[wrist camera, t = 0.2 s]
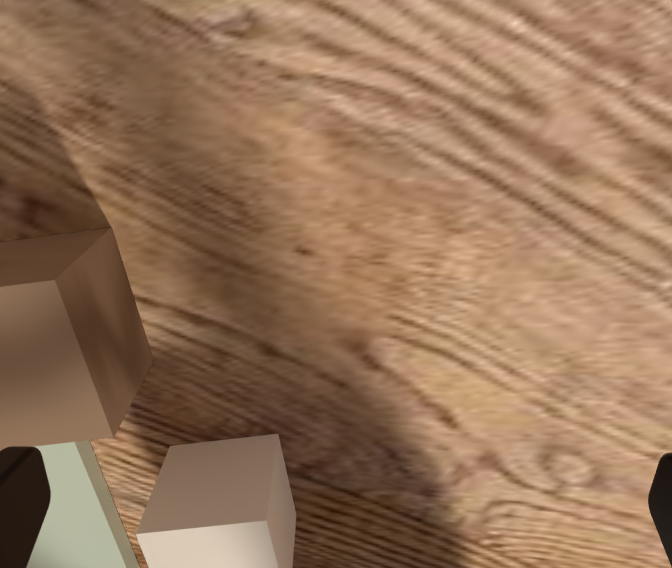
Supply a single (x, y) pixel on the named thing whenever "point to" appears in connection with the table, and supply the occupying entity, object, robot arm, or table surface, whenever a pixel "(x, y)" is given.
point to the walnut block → (67, 339)
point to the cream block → (221, 507)
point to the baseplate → (79, 514)
